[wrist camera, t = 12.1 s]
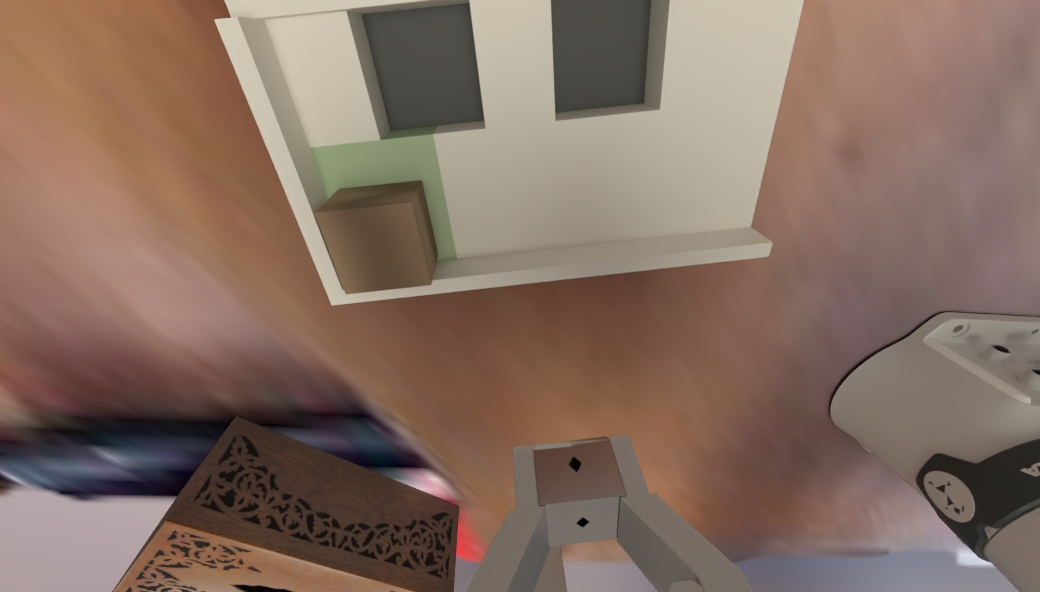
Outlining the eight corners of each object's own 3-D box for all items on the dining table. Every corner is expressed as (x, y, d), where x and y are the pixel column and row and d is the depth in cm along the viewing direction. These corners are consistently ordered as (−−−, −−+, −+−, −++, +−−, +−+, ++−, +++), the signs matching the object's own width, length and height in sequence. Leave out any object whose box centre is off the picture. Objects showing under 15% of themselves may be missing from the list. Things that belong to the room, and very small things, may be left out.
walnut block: (422, 180, 24) (411, 202, 21) (438, 254, 27) (431, 285, 24) (338, 188, 24) (314, 212, 21) (363, 262, 27) (345, 294, 23)
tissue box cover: (183, 488, 43) (108, 596, 35) (237, 413, 38) (165, 520, 29) (393, 555, 53) (375, 651, 45) (459, 503, 48) (452, 602, 40)
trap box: (780, -53, 22) (860, -79, 17) (726, 223, 30) (768, 256, 26) (263, 1, 22) (202, -10, 17) (355, 264, 30) (331, 305, 26)
